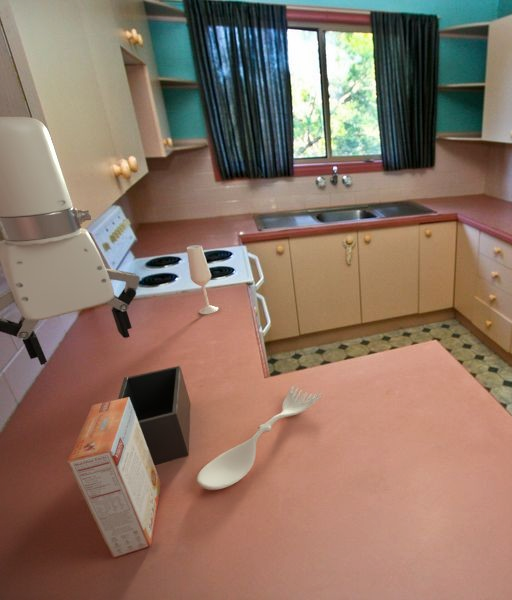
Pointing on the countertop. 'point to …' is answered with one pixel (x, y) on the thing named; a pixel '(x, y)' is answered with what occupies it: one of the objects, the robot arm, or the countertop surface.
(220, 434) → the countertop surface
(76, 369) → the countertop surface
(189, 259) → the champagne flute
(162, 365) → the countertop surface
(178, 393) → the open box
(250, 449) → the spoon
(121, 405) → the cracker box
